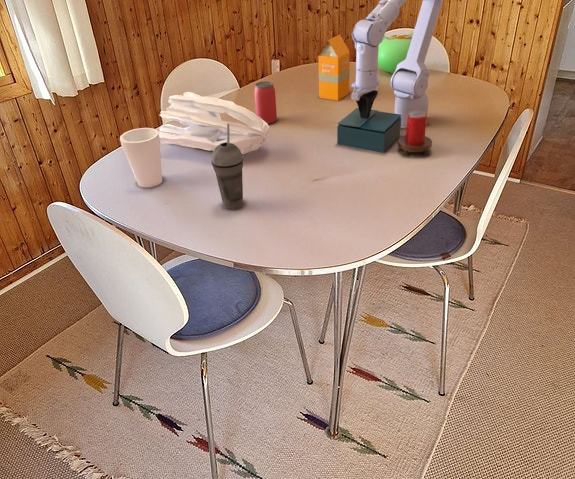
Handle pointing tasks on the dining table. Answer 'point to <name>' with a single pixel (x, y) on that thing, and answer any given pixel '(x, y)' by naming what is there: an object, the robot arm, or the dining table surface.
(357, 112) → the cool box flap
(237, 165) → the beverage cup
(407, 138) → the can
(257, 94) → the beer can
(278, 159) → the dining table surface
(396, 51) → the green round bowl
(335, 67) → the orange juice
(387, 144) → the teal box
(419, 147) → the coaster
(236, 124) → the white plastic bag
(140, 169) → the foam cup
